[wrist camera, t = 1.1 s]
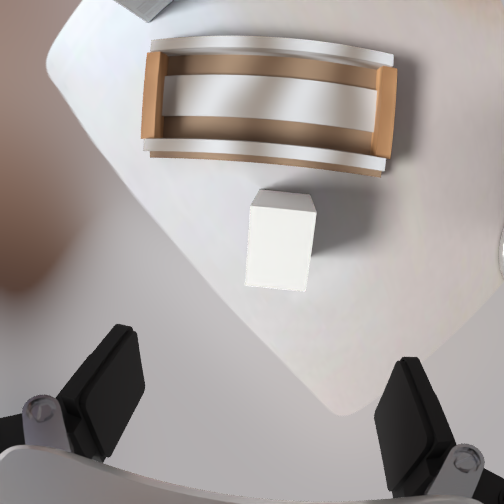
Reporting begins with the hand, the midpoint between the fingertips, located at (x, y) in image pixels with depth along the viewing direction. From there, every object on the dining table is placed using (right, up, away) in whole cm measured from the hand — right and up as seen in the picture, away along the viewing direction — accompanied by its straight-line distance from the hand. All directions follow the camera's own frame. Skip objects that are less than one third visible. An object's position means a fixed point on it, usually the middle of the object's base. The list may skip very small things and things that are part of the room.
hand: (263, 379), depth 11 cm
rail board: (+1, +17, +15) cm, 23 cm away
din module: (+2, +7, +19) cm, 20 cm away
